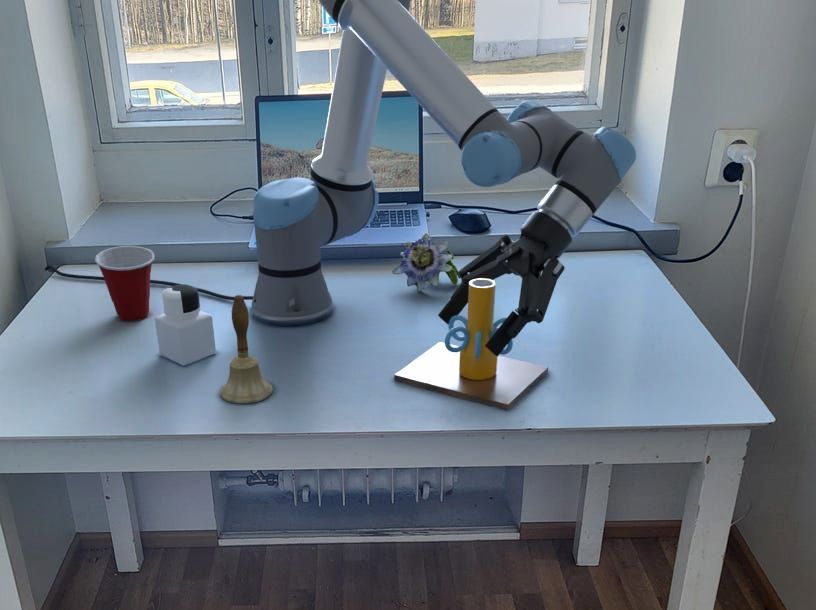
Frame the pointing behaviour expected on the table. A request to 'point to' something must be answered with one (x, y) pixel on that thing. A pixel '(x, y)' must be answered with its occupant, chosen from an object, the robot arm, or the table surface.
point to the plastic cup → (127, 279)
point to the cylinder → (477, 332)
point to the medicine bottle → (184, 326)
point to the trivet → (443, 376)
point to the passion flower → (426, 263)
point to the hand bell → (244, 364)
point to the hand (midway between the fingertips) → (466, 335)
